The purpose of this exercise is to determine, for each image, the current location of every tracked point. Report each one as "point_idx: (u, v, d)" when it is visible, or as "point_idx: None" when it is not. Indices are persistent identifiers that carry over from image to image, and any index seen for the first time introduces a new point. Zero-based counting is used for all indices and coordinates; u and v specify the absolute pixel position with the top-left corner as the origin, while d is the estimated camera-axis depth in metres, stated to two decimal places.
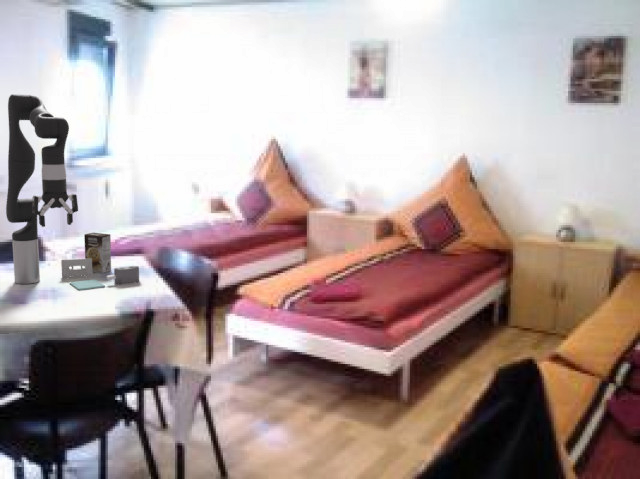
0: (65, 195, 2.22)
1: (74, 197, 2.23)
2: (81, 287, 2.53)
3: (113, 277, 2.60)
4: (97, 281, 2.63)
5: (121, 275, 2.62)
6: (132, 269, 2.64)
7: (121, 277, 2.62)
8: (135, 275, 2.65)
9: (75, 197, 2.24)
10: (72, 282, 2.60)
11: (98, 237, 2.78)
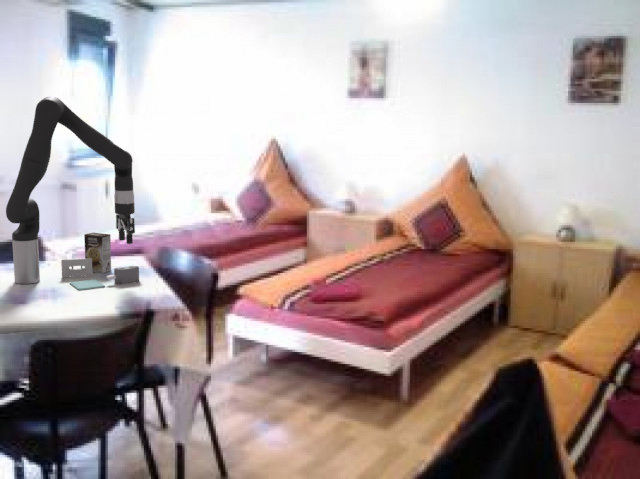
0: None
1: None
2: (81, 287, 2.53)
3: (113, 277, 2.60)
4: (97, 281, 2.63)
5: (121, 275, 2.62)
6: (132, 269, 2.64)
7: (121, 277, 2.62)
8: (135, 275, 2.65)
9: None
10: (72, 282, 2.60)
11: (98, 237, 2.78)
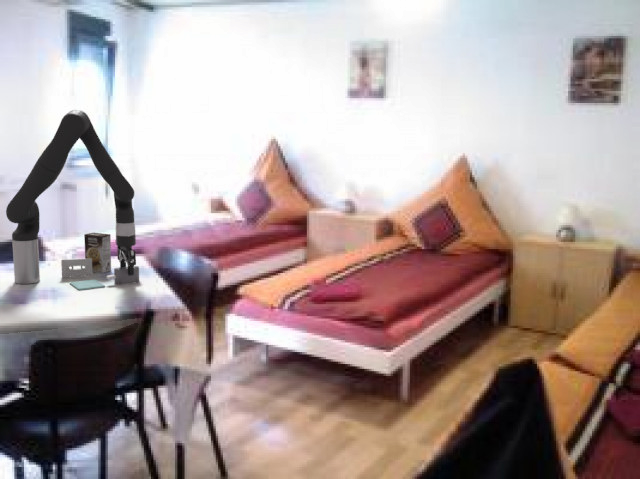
0: None
1: None
2: (81, 287, 2.53)
3: (113, 277, 2.60)
4: (97, 281, 2.63)
5: (121, 275, 2.62)
6: None
7: (121, 277, 2.62)
8: (135, 275, 2.65)
9: None
10: (72, 282, 2.60)
11: (98, 237, 2.78)
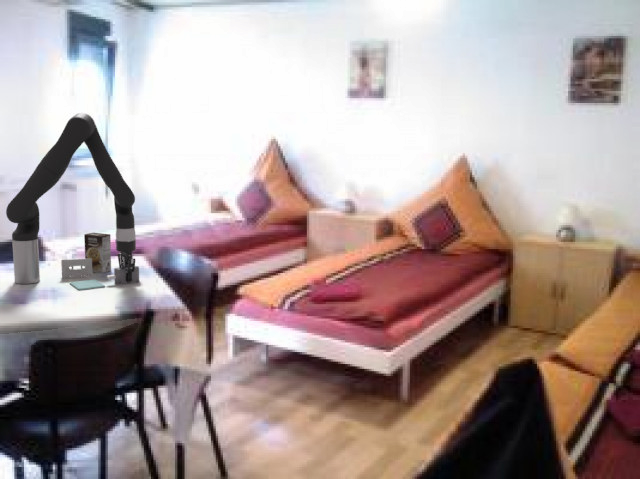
0: None
1: None
2: (81, 287, 2.53)
3: (113, 277, 2.61)
4: (97, 281, 2.63)
5: (121, 275, 2.62)
6: None
7: (121, 277, 2.62)
8: (135, 275, 2.65)
9: None
10: (72, 282, 2.60)
11: (98, 237, 2.78)
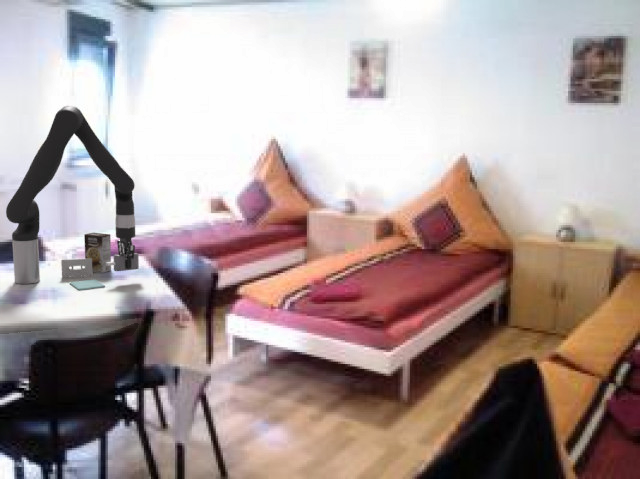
0: None
1: None
2: (81, 287, 2.53)
3: (112, 264, 2.60)
4: (97, 281, 2.63)
5: (121, 262, 2.61)
6: None
7: (120, 264, 2.61)
8: (134, 262, 2.64)
9: None
10: (72, 282, 2.60)
11: (98, 237, 2.78)
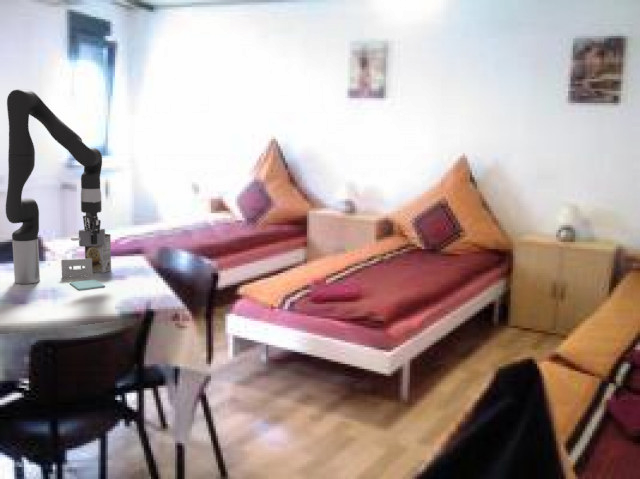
0: None
1: None
2: (81, 287, 2.53)
3: (77, 239, 2.53)
4: (97, 281, 2.63)
5: (86, 237, 2.54)
6: None
7: (86, 239, 2.54)
8: (101, 237, 2.57)
9: None
10: (72, 282, 2.60)
11: None
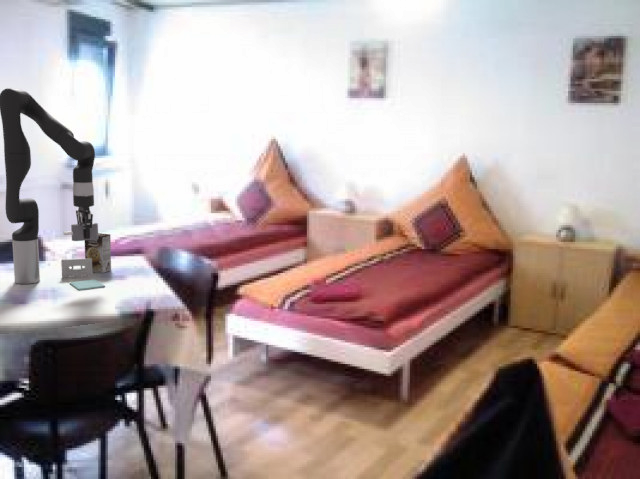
0: None
1: None
2: (81, 287, 2.53)
3: (70, 233, 2.51)
4: (97, 281, 2.63)
5: (79, 231, 2.52)
6: None
7: (78, 234, 2.52)
8: (93, 232, 2.55)
9: None
10: (72, 282, 2.60)
11: (98, 237, 2.78)
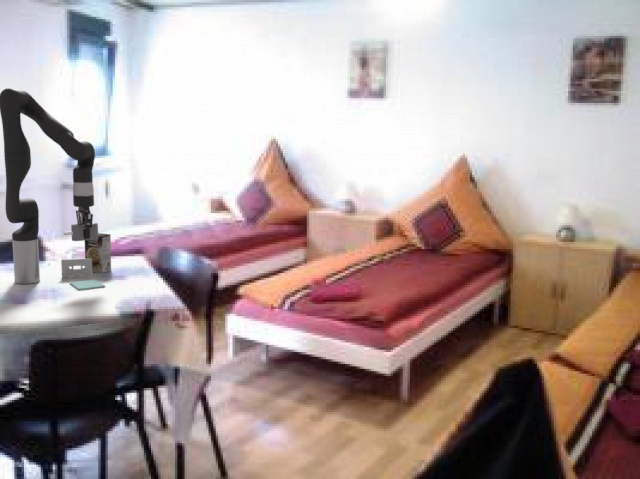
0: None
1: None
2: (81, 287, 2.53)
3: (70, 233, 2.51)
4: (97, 281, 2.63)
5: (79, 231, 2.52)
6: None
7: (78, 234, 2.52)
8: (93, 232, 2.55)
9: None
10: (72, 282, 2.60)
11: (98, 237, 2.78)
